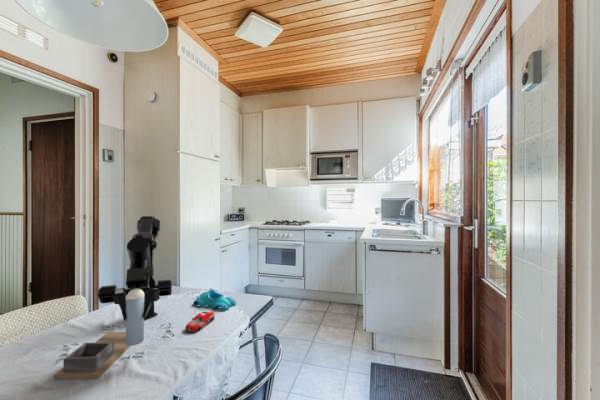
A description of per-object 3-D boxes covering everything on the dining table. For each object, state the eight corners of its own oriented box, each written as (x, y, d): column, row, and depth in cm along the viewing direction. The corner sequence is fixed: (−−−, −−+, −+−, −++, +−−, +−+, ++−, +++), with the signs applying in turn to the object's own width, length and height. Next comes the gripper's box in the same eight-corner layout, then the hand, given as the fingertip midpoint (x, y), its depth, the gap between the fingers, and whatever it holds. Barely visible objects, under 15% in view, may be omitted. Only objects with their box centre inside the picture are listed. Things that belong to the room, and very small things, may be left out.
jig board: (107, 335, 91) (107, 322, 91) (141, 335, 92) (141, 321, 92) (53, 379, 69) (54, 361, 69) (98, 378, 70) (99, 360, 70)
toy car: (207, 298, 128) (207, 284, 128) (238, 304, 121) (239, 289, 121) (190, 306, 117) (190, 291, 117) (224, 313, 111) (224, 297, 111)
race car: (194, 335, 93) (195, 324, 93) (182, 332, 95) (182, 321, 94) (217, 319, 106) (217, 309, 106) (205, 317, 107) (205, 307, 107)
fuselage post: (122, 342, 75) (123, 289, 75) (138, 335, 79) (139, 285, 79) (130, 347, 73) (131, 292, 73) (146, 340, 77) (147, 288, 77)
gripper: (99, 258, 75) (88, 312, 66) (172, 254, 84) (171, 301, 74) (105, 278, 83) (95, 329, 73) (171, 272, 91) (170, 317, 81)
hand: (134, 319), depth 75 cm, fingers closed on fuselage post, 4 cm apart
